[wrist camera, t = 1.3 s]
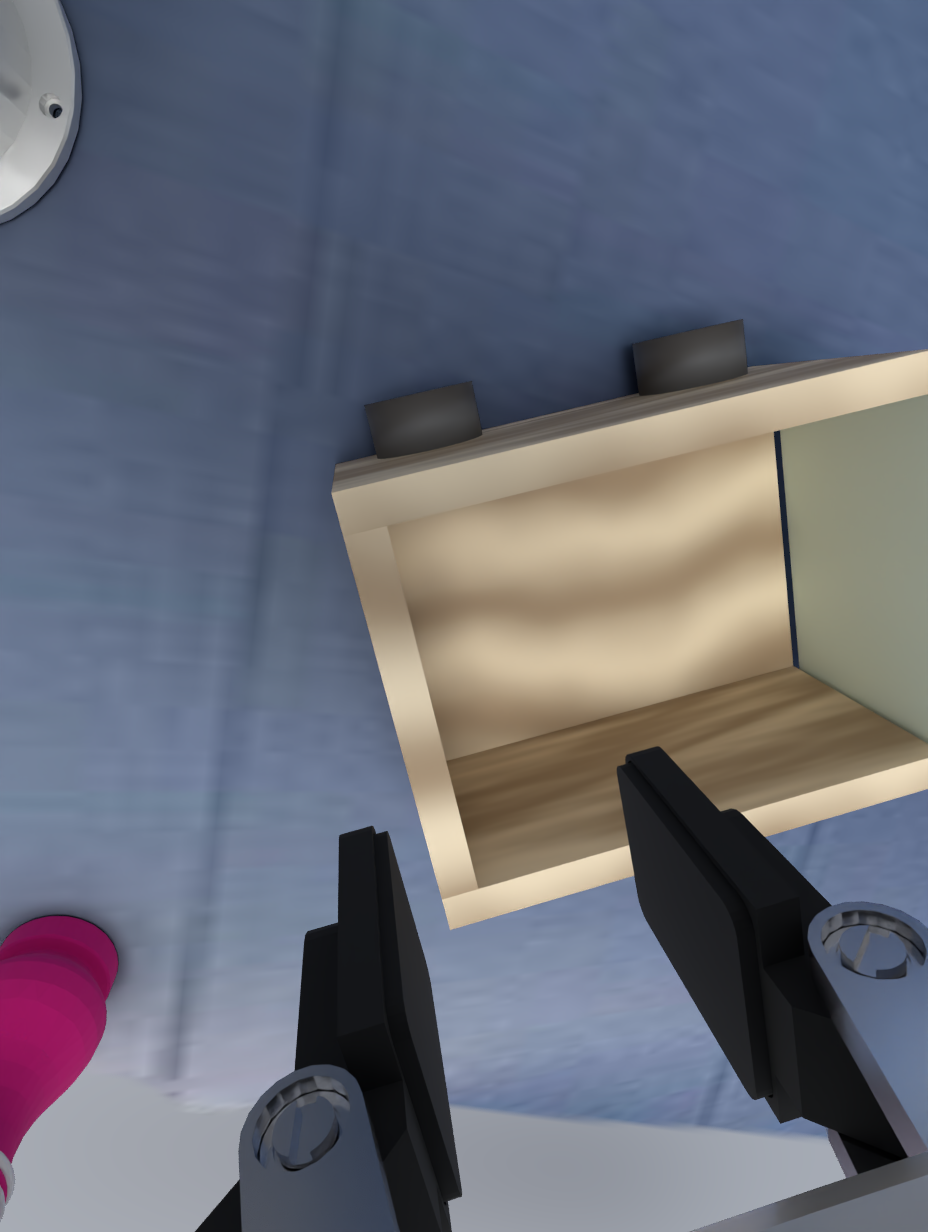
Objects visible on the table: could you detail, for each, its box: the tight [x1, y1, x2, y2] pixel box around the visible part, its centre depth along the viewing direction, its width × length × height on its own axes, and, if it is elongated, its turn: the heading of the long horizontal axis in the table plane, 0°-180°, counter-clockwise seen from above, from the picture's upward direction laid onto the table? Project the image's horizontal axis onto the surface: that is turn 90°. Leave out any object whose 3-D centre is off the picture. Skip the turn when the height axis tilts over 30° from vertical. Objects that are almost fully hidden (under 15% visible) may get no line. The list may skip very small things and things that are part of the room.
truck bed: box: [331, 319, 928, 930], centre depth 34 cm, size 23×22×12 cm
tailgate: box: [780, 394, 928, 743], centre depth 34 cm, size 18×2×11 cm, turn 13°
